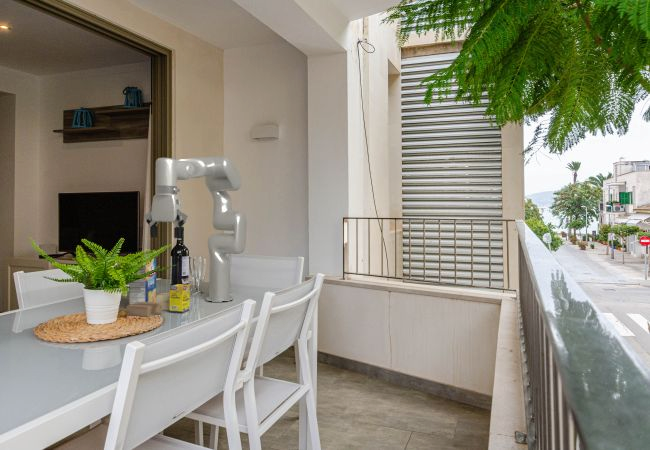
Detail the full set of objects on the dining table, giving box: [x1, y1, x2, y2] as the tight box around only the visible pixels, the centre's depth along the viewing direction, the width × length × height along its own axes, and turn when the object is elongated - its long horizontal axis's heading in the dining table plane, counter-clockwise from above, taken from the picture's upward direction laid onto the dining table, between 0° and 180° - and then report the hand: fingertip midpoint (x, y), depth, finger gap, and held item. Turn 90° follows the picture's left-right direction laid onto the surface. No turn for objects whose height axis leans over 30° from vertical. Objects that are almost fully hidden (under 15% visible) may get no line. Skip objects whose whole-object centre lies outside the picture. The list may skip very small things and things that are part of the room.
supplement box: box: [168, 283, 191, 314], centre depth 181 cm, size 6×6×11 cm
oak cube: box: [156, 292, 170, 311], centre depth 187 cm, size 6×6×6 cm
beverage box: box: [128, 256, 157, 305], centre depth 189 cm, size 7×11×22 cm, turn 179°
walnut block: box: [126, 302, 162, 317], centre depth 171 cm, size 9×9×5 cm
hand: (165, 237), depth 163 cm, fingers open, 9 cm apart
